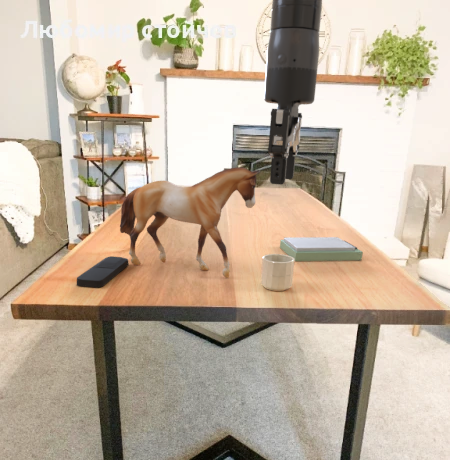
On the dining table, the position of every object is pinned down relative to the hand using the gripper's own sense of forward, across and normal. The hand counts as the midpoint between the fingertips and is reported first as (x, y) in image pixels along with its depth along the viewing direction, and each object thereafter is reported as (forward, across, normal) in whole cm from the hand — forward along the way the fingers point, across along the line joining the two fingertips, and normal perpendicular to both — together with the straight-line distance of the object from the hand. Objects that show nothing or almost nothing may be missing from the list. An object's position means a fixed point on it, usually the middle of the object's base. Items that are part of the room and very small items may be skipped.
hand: (282, 181), depth 71 cm
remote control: (+20, -1, +33) cm, 38 cm away
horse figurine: (+20, +11, +21) cm, 31 cm away
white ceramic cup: (+20, +5, 0) cm, 20 cm away
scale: (+20, +32, -5) cm, 38 cm away
